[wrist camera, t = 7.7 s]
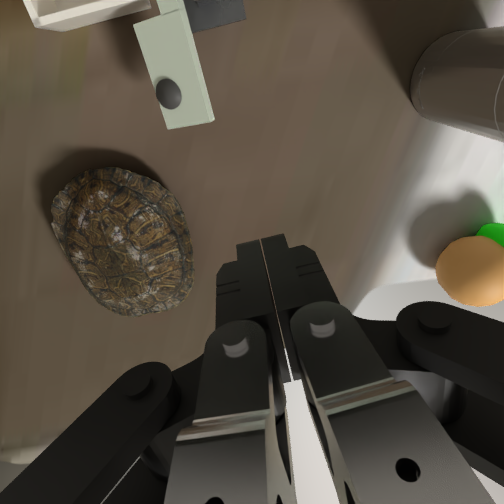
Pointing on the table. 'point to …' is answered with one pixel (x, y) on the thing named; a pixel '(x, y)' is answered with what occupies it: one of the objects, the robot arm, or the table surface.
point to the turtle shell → (125, 240)
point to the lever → (174, 66)
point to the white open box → (79, 12)
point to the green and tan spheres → (474, 267)
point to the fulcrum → (213, 13)
